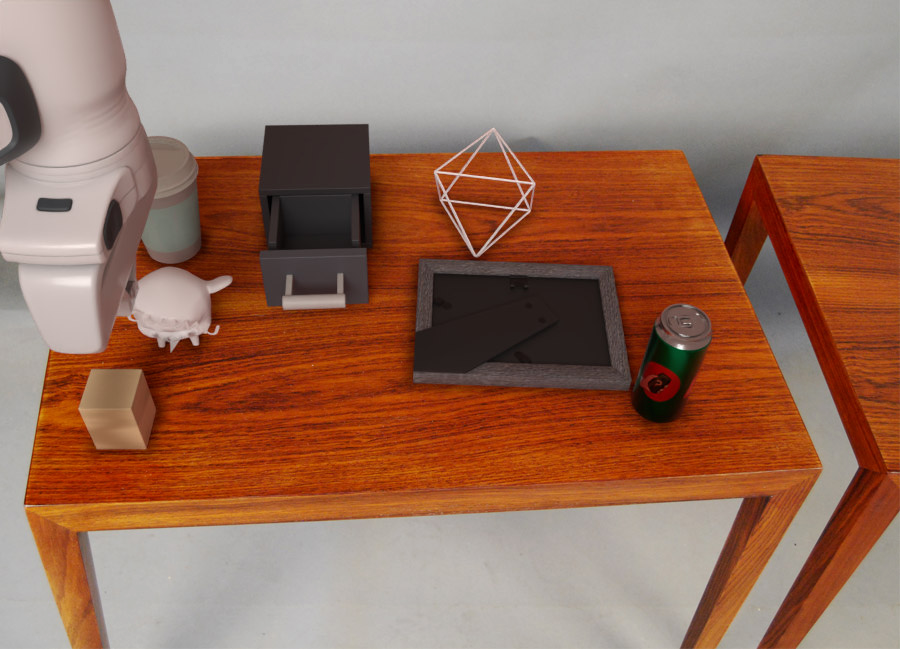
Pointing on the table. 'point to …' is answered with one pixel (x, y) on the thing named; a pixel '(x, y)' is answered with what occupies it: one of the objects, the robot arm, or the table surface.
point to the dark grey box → (317, 166)
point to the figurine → (175, 305)
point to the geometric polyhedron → (484, 204)
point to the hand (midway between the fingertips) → (125, 303)
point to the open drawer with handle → (315, 253)
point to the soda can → (671, 363)
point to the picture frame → (519, 325)
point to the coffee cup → (173, 204)
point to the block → (118, 408)
